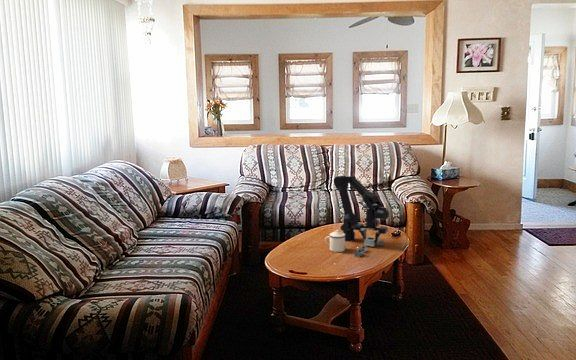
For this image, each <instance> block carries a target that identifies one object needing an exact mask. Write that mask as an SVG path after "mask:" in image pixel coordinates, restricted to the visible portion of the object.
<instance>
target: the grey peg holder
mask: <svg viewBox="0 0 576 360" xmlns="http://www.w3.org/2000/svg"><path fill="white" fill-rule="evenodd" d="M379 238H380V237H379ZM379 238H378V241H377V244H376V245H375V246H376V247H377V246H378V247H383V246H384V245H385V244H384V243H385V241H384V240H380V239H379ZM375 246H374V247H375Z"/></svg>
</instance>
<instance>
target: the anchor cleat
mask: <svg viewBox="0 0 576 360" xmlns="http://www.w3.org/2000/svg"><path fill="white" fill-rule="evenodd" d="M360 247H361V246H357V248H356V249H357V250H355V251H354V257H357V258H361V257H362V256H363V255H364V253H363V250H360Z"/></svg>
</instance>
